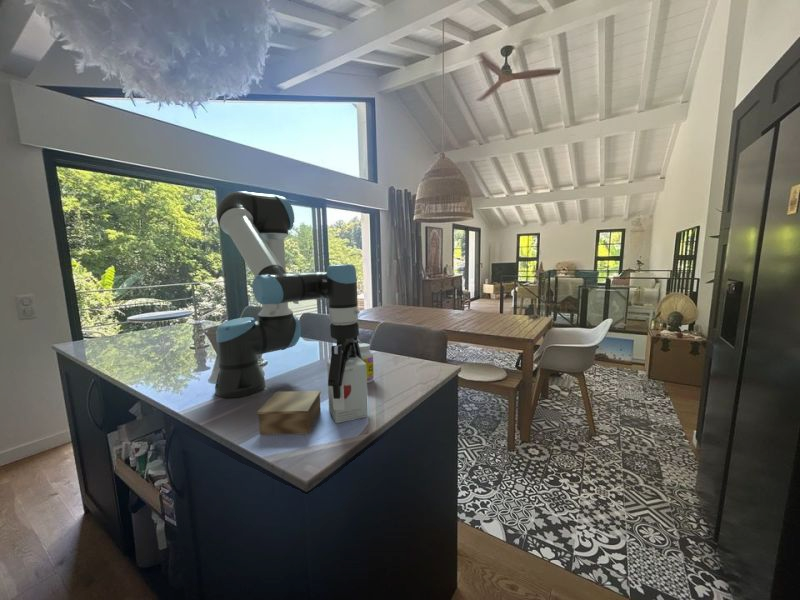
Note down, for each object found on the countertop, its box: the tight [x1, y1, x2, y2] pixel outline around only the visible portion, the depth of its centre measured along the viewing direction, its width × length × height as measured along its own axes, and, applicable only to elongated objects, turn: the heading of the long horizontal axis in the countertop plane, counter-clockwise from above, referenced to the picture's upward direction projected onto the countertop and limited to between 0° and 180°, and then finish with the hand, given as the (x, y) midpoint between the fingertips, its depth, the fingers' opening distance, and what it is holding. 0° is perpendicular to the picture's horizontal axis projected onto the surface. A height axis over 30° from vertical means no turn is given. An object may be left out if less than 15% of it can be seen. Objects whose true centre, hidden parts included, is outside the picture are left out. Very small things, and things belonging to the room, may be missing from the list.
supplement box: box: [326, 356, 369, 424], centre depth 93 cm, size 9×9×15 cm
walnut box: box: [256, 390, 322, 435], centre depth 89 cm, size 12×12×6 cm
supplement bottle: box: [358, 342, 374, 384], centre depth 118 cm, size 7×7×13 cm
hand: (348, 398), depth 93 cm, fingers open, 13 cm apart
